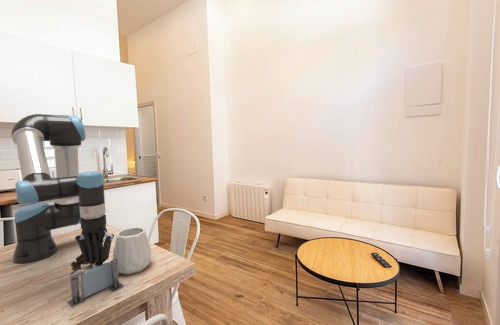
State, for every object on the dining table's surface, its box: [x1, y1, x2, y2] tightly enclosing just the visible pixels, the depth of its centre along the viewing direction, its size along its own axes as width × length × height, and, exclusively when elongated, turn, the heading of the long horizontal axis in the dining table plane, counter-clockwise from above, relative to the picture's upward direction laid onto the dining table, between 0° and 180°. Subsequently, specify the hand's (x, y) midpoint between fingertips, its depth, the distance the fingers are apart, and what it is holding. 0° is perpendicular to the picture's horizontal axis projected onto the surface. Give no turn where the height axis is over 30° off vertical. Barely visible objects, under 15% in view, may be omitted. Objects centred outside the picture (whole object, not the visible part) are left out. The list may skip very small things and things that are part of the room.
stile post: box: [107, 258, 125, 293], centre depth 84 cm, size 4×4×10 cm
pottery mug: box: [70, 253, 90, 272], centre depth 98 cm, size 12×10×8 cm
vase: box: [112, 227, 152, 276], centre depth 97 cm, size 14×14×15 cm
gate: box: [69, 260, 113, 299], centre depth 82 cm, size 14×2×9 cm, turn 144°
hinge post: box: [67, 276, 85, 308], centre depth 77 cm, size 4×4×8 cm
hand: (98, 279), depth 86 cm, fingers closed
